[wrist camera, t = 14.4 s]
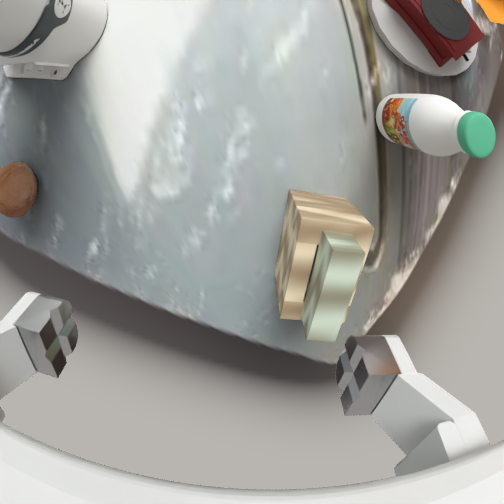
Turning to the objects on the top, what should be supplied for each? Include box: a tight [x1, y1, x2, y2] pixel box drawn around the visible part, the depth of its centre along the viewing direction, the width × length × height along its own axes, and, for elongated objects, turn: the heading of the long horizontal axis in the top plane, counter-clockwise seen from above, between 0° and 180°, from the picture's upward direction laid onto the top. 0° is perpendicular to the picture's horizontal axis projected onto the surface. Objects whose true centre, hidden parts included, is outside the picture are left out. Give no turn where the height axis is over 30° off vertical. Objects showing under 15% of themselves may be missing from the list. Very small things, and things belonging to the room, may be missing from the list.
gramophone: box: [367, 0, 504, 76], centre depth 19 cm, size 20×20×25 cm
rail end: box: [301, 230, 365, 342], centre depth 36 cm, size 12×4×9 cm, turn 173°
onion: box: [0, 161, 38, 217], centre depth 38 cm, size 10×9×10 cm
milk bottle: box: [376, 94, 495, 158], centre depth 29 cm, size 8×8×20 cm
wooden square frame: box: [275, 190, 375, 323], centre depth 42 cm, size 14×9×12 cm, turn 173°
